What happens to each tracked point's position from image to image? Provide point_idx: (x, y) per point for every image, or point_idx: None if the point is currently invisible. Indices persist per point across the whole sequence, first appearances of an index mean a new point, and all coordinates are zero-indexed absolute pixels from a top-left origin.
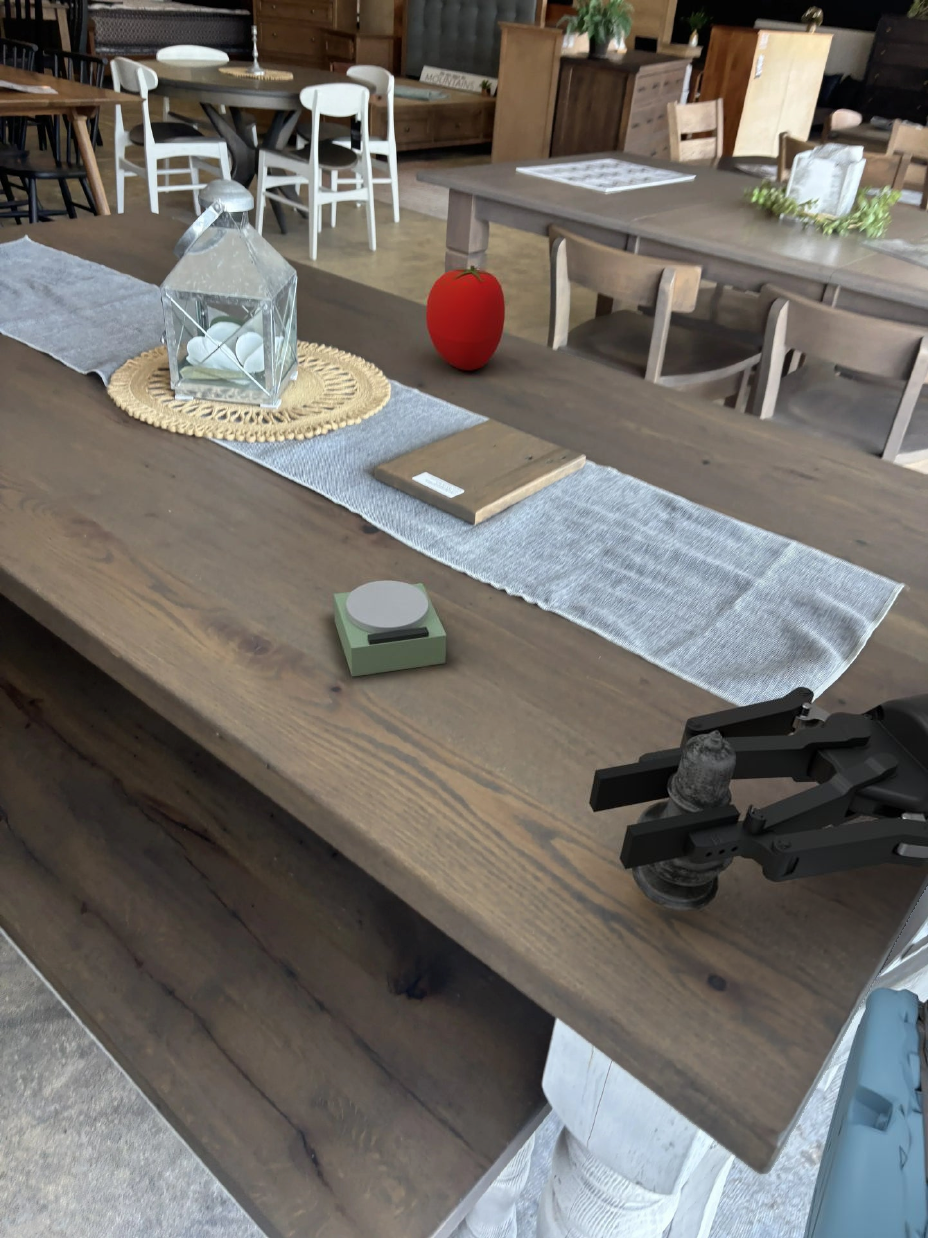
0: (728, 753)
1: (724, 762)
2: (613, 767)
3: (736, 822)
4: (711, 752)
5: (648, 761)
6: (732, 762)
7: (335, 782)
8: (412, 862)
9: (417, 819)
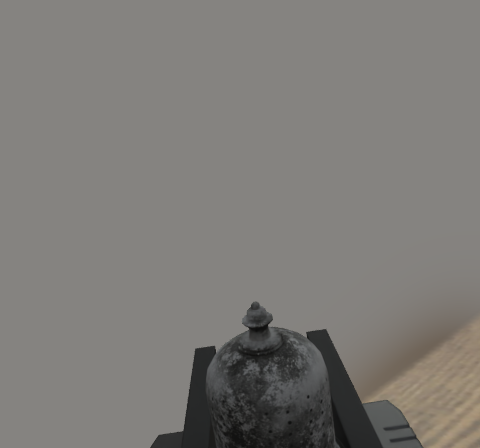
0: (231, 369)
1: (212, 364)
2: (333, 346)
3: None
4: (237, 338)
5: (350, 385)
6: (215, 388)
7: (469, 347)
8: (379, 394)
9: (440, 399)
